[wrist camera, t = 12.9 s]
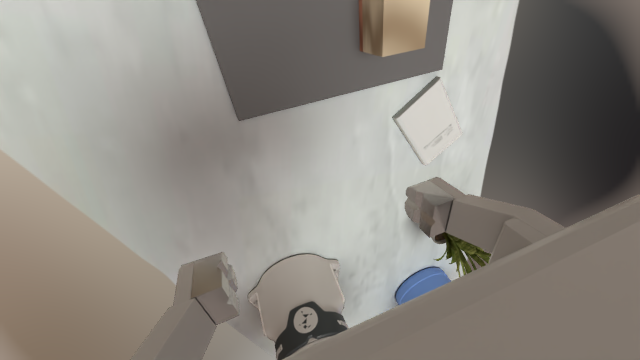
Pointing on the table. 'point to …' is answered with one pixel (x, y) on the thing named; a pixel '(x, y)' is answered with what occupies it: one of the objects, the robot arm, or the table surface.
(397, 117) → the external hard drive
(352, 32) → the rubber mat
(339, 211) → the table surface
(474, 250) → the house plant
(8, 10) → the table surface
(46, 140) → the table surface
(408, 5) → the maple block
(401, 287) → the water jug
